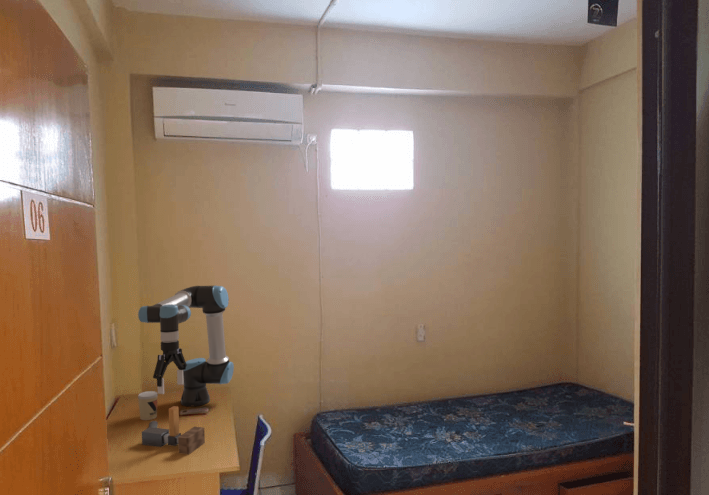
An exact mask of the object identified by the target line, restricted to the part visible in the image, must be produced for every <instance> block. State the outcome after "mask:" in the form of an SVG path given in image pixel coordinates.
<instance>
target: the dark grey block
mask: <svg viewBox="0 0 709 495" xmlns="http://www.w3.org/2000/svg"><path fill="white" fill-rule="evenodd" d="M165 433H169V428H163V427H162V428H161V427H157V428H154V427H149V426H148V428H146V429H144V430H143V431H141V445H143V446H149V447H150V446H151V447H158V448H163V447H164V446H166V445H168V444H167V443H162V435H163V434H165Z"/></svg>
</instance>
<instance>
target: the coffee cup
mask: <svg viewBox="0 0 709 495" xmlns="http://www.w3.org/2000/svg"><path fill="white" fill-rule="evenodd" d="M158 395H159V394H158V391H155V390H154V391H153V390H149V391H142V392H140V393H139V394H138V395H137V401H138V402H137V403H138V410H139V411H138V412H139V418H140V420H142V421H149V420H151V421H152V420H154V419H156V418H157V416H158Z"/></svg>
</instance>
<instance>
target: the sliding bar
mask: <svg viewBox="0 0 709 495" xmlns="http://www.w3.org/2000/svg"><path fill="white" fill-rule="evenodd" d="M179 410H180V409H179V406H178V405H176V406H175V405H173V406H171V407H169V408H168V429H169V433H165V434H163V435H162V443H167V444H166V445H168V446H170V447H171V446H172V447H176V446H177V445H178V437H179V436H181V435H182V433H181V432H180V419H179V418H180V416H179V414H180V413H179V412H180V411H179Z"/></svg>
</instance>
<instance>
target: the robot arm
mask: <svg viewBox="0 0 709 495" xmlns="http://www.w3.org/2000/svg"><path fill="white" fill-rule="evenodd" d="M229 300H230V299H229V294H228V291H227V288H226V287H225V286H223V285H194V286H189V287H186V288H184V289H180V290H179V291H177V292H175V294H174V295H173V296H170V297H168V298H165V299H164V300H161V301H160V302H156V303H155V304H152V305H143V306H141V307H140V308H139V309H138V313H137V315H138V316H137V317H138V318H137V319H138V320H139V322H141V323H146V324H152V323H155V324H157V323H159V324H160V325H159V326H160V329H159V330H160V351H162V354H158V355H157V361H156V364H155V368H154V371H153V375H152V378H153V379H156V385H157V394H158V395H165V378H164V375H165V373H166V370H167V368H168V366H169V365H170V364H171V363H174V365H175V366H176V367H177V370H176V373H177V374H176V379H177V380H176V381H177V383H176V384H177V385H181V386H183V392H182V394H181V397H180V404H181V406H184V407H199V406H200V407H201V406H203V405H206V404H208V403H209V402H210V401H211V400H210V399H211V396H210V394H209V391H208V387H207V384H209V385H210V384H212V385H226V384H229V383H230V381H232V378H233V375H234V371H235V370H234V369H235V366H234V365H235V364H234V362H233V361H230V357H229V356H228V355H227V353H226V342H225V341H226V339H225V329H224V328H225V326H224V316H223V315H224V312H226V308H228V306H229ZM190 308H191V309H192V308H193V309H195V308H197V309H202V313H203V314H204V315H205V319H206V320H205V321H206V333H207V343H208V344H207V345H208V355H209V356H208V358H207V359H206V357H205V358H204V357H197V358H193V359H188V360H185V356H184V354H183V348H181V347H180V340H179V338H180V336H179V335H180V333H179V324H182V323H184V322H186V321H187V320H189V319H190V317H191V316H192V311H191V309H190Z"/></svg>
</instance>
